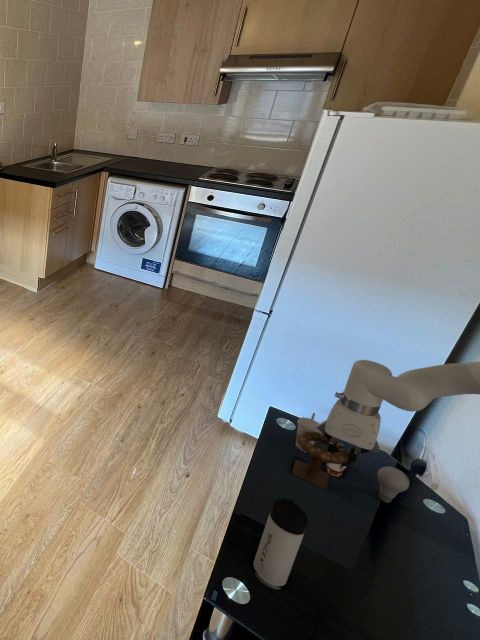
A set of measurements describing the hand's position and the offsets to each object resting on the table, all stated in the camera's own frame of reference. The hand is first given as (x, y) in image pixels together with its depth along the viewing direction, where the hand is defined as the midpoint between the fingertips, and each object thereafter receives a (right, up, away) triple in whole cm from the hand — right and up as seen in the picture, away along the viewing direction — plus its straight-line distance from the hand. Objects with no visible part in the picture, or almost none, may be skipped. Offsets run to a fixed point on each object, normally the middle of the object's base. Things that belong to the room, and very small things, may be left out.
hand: (340, 457), depth 116 cm
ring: (-3, +2, +2) cm, 4 cm away
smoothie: (+3, -6, +17) cm, 18 cm away
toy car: (+6, -8, +9) cm, 14 cm away
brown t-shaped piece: (-4, -9, +6) cm, 11 cm away
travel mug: (-37, -17, -22) cm, 46 cm away
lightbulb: (+11, -12, -2) cm, 16 cm away
